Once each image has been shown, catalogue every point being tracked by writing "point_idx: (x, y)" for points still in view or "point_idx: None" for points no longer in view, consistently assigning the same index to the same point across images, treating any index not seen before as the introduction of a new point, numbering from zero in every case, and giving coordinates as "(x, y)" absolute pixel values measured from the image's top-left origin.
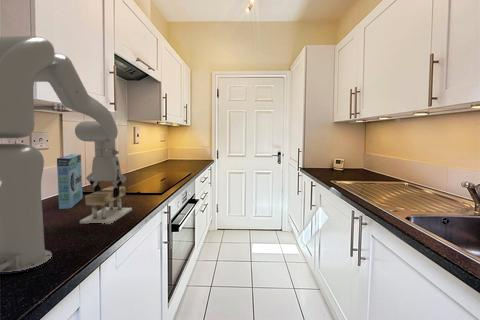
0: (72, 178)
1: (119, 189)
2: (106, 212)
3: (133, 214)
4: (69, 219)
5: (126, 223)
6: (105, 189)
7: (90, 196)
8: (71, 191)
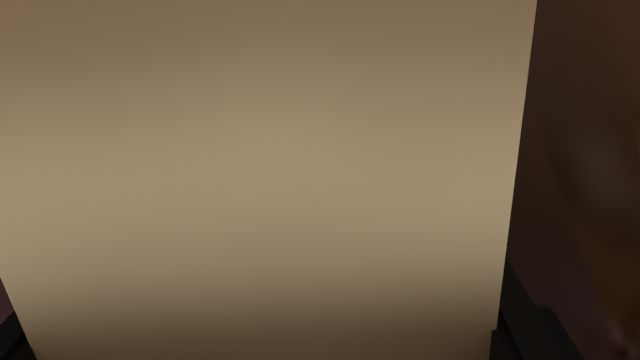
0: None
1: (509, 199)
2: None
3: (580, 53)
4: None
5: (591, 321)
6: (94, 270)
7: None
8: None
